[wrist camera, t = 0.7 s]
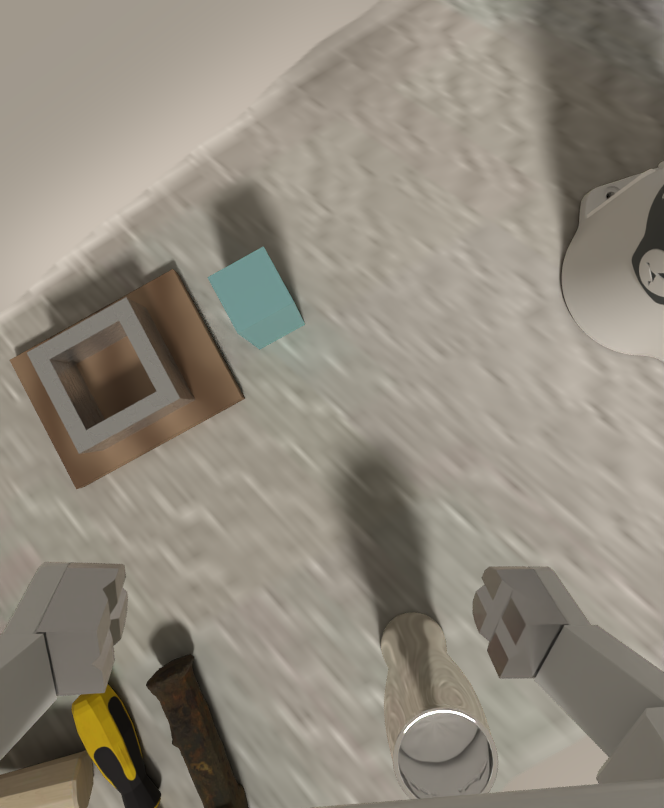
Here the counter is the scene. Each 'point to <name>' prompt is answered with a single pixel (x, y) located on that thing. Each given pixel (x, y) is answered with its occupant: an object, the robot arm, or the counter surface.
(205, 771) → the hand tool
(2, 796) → the hammer
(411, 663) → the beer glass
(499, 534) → the counter surface
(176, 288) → the walnut board
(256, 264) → the teal peg
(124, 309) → the socket
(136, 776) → the screwdriver
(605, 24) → the counter surface
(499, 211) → the counter surface
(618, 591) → the counter surface
